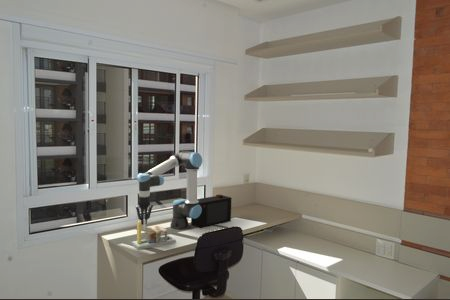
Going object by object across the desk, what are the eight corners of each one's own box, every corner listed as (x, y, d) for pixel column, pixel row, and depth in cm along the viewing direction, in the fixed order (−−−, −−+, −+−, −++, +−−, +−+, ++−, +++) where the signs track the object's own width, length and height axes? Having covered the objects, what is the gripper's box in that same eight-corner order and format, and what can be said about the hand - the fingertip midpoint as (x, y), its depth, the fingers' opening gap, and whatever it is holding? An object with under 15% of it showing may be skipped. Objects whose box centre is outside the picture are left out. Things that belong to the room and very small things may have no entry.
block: (153, 237, 250) (153, 230, 249) (156, 239, 245) (156, 232, 245) (147, 238, 247) (147, 231, 246) (150, 240, 243) (150, 233, 242)
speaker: (189, 224, 296) (190, 197, 295) (219, 217, 320) (220, 192, 318) (200, 228, 285) (201, 200, 283) (230, 221, 309) (231, 195, 307)
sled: (155, 238, 251) (155, 218, 250) (159, 240, 246) (159, 220, 244) (136, 241, 243) (136, 220, 242) (139, 244, 237) (140, 223, 236)
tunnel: (159, 236, 256) (160, 225, 256) (166, 241, 247) (167, 229, 246) (149, 238, 252) (150, 227, 251) (156, 243, 242) (156, 231, 241)
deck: (168, 237, 260) (168, 234, 260) (175, 242, 251) (175, 239, 251) (131, 244, 244) (131, 241, 244) (137, 249, 234) (137, 246, 234)
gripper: (150, 194, 247) (150, 226, 249) (133, 195, 239) (133, 228, 241) (155, 196, 241) (154, 228, 242) (137, 198, 233) (136, 231, 235)
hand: (143, 228), depth 242 cm, fingers closed
